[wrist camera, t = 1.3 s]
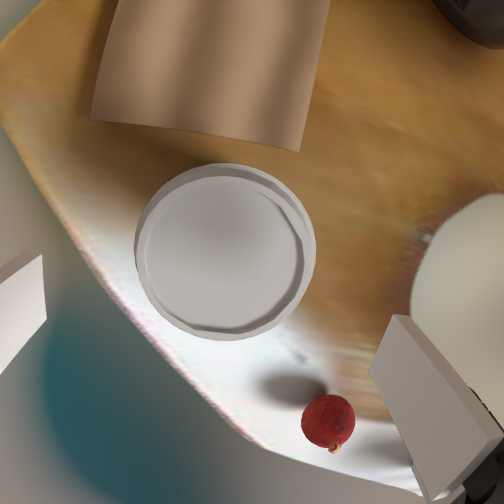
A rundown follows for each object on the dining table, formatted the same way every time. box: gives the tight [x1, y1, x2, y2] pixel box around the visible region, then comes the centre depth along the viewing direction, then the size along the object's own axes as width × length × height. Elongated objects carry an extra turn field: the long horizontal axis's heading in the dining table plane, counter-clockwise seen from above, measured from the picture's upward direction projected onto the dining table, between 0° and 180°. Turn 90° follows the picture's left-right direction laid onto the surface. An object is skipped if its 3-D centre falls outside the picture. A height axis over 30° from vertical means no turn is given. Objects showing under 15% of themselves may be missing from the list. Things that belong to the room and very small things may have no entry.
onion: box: [301, 395, 355, 454], centre depth 31 cm, size 6×6×8 cm
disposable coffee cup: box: [134, 163, 316, 341], centre depth 21 cm, size 10×10×12 cm
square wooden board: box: [89, 0, 330, 152], centre depth 21 cm, size 16×16×3 cm
